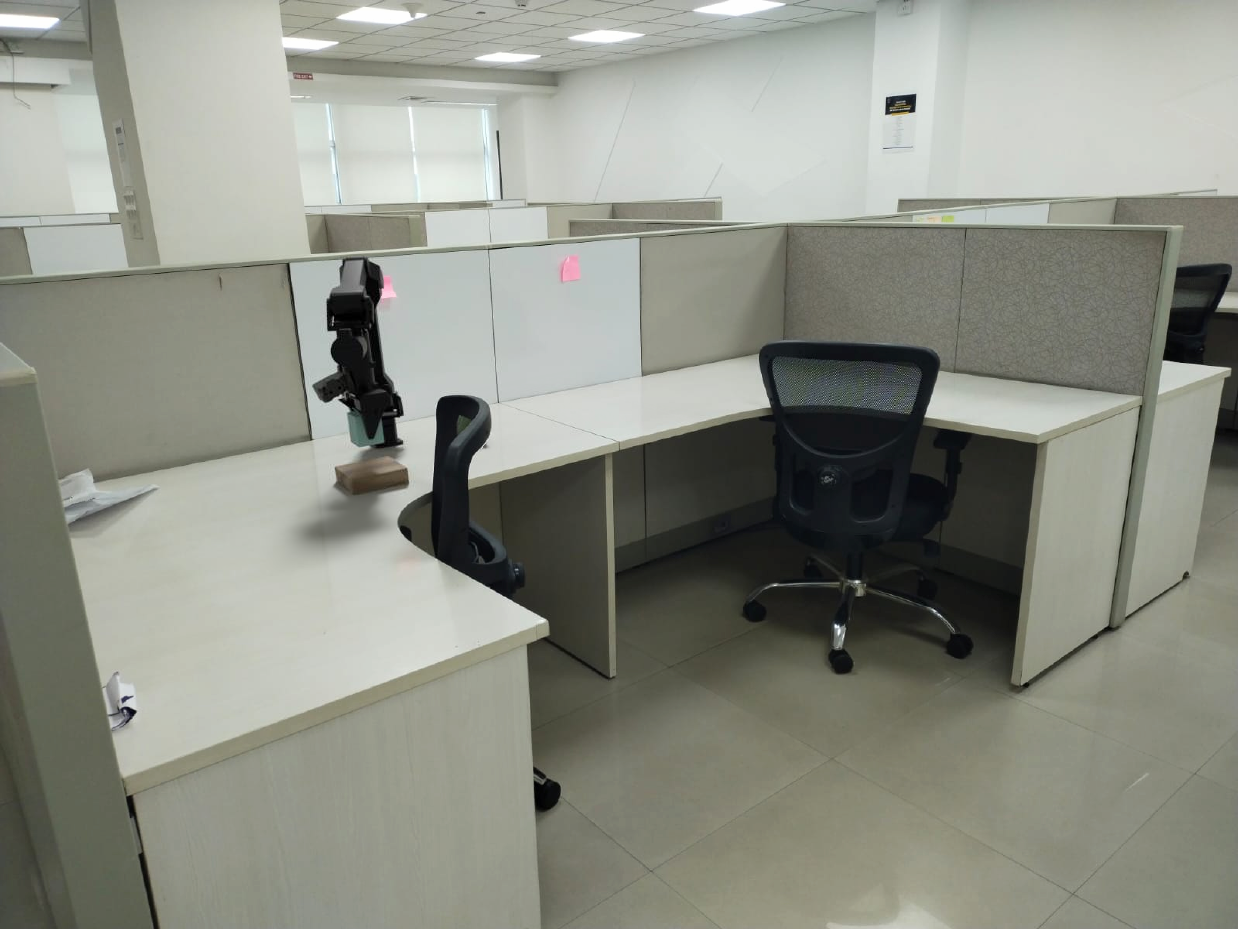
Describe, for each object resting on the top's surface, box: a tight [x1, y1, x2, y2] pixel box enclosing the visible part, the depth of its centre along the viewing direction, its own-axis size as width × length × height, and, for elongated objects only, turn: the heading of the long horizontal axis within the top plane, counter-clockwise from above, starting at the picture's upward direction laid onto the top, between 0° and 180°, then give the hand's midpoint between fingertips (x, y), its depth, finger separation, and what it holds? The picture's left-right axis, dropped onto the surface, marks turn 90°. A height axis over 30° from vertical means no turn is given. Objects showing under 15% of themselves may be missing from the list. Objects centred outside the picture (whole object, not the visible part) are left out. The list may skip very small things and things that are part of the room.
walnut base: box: [334, 455, 410, 496], centre depth 174 cm, size 11×11×3 cm
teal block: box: [346, 411, 384, 448], centre depth 172 cm, size 5×5×6 cm
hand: (366, 436), depth 172 cm, fingers closed on teal block, 5 cm apart
